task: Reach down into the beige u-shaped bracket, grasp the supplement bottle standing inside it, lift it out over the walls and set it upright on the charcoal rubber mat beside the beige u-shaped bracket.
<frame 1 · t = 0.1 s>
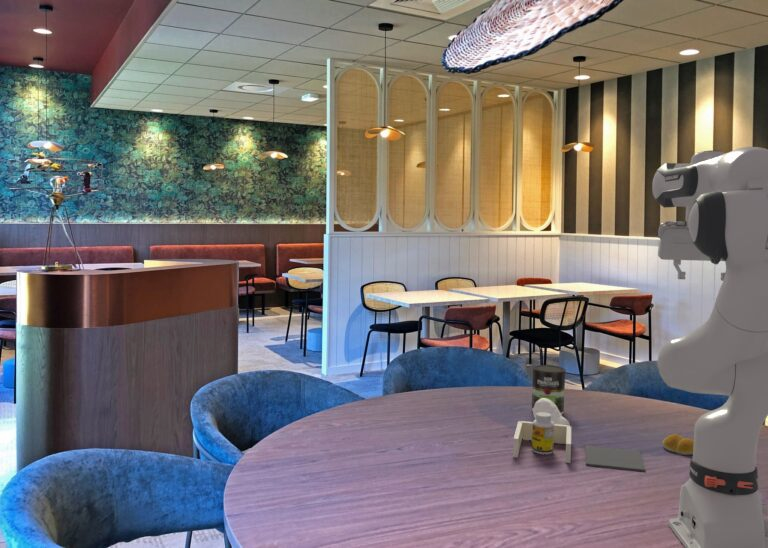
hand: (702, 279, 159), 48 cm above the table, tool pointing down, fingers open, 8 cm apart
bread roll: (680, 451, 181), on the table
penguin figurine: (552, 430, 197), on the table
beige u-shaped bracket: (542, 451, 179), on the table
supplement bottle: (542, 452, 179), on the table
coffee can: (547, 411, 216), on the table
mat: (613, 458, 174), on the table
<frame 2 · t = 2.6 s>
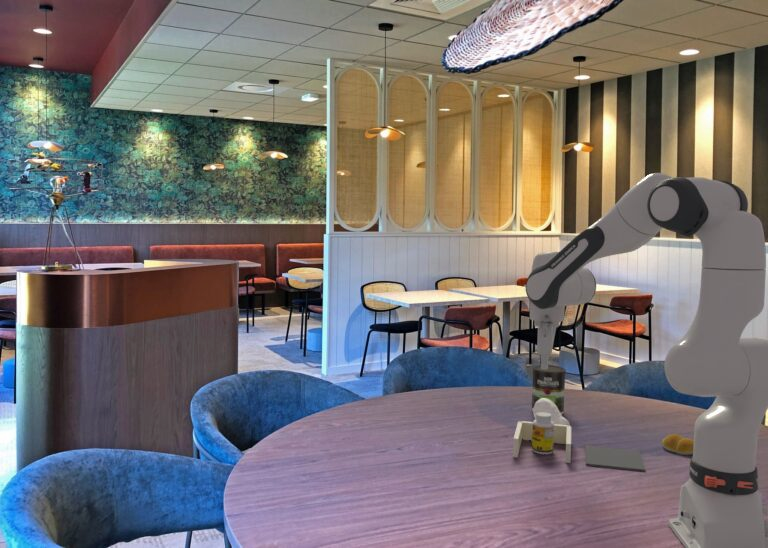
hand: (545, 365, 177), 23 cm above the table, tool pointing down, fingers open, 8 cm apart
nothing on the table moved.
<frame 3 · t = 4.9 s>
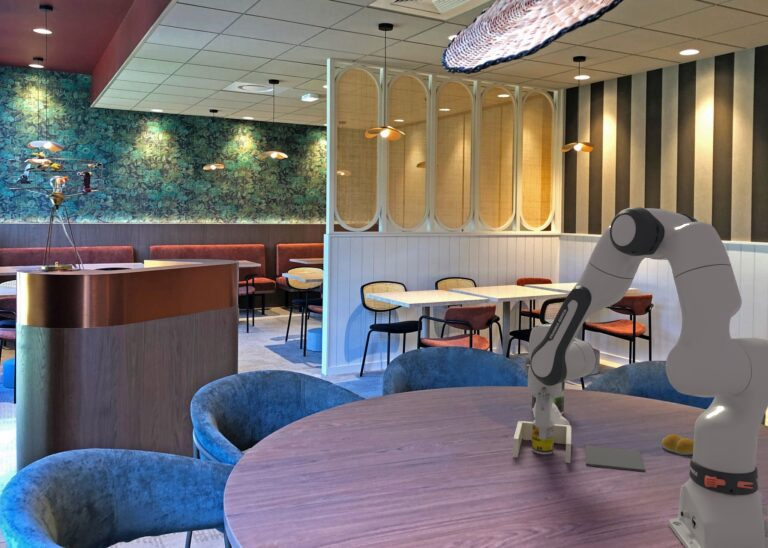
hand: (543, 434, 178), 5 cm above the table, tool pointing down, fingers closed on supplement bottle, 5 cm apart
supplement bottle: (542, 452, 179), on the table, touching gripper
everything else where it was.
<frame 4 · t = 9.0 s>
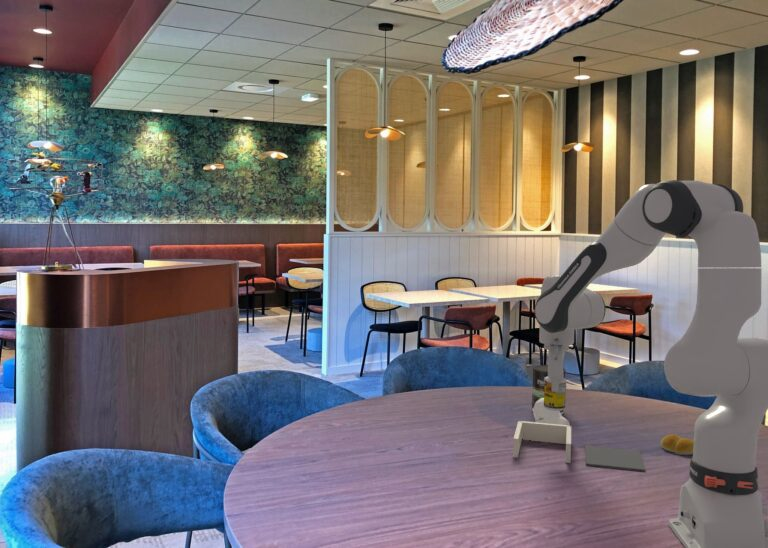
hand: (555, 388, 176), 18 cm above the table, tool pointing down, fingers closed on supplement bottle, 5 cm apart
supplement bottle: (554, 409, 176), point 12 cm above the table, touching gripper
everything else where it was.
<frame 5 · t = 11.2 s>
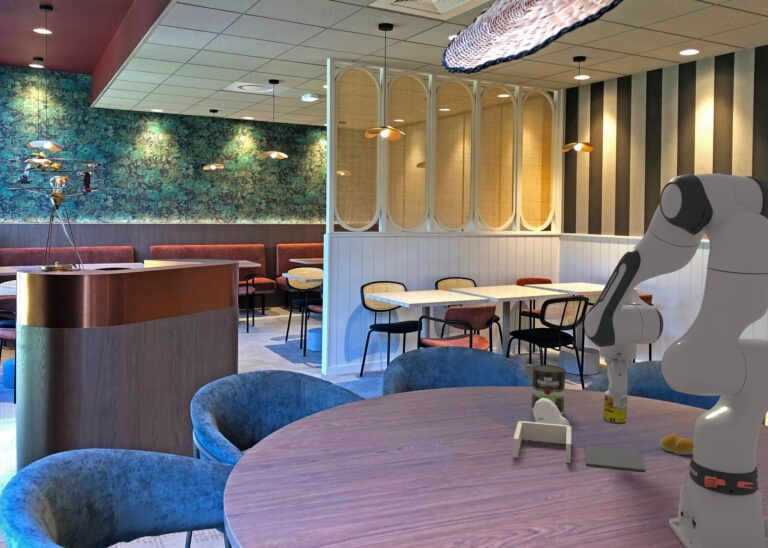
hand: (615, 402, 172), 15 cm above the table, tool pointing down, fingers closed on supplement bottle, 5 cm apart
supplement bottle: (614, 424, 173), point 9 cm above the table, touching gripper
everything else where it was.
when the fingers open (7 cm above the table, at t = 13.4 s): supplement bottle stays where it is, resting on mat.
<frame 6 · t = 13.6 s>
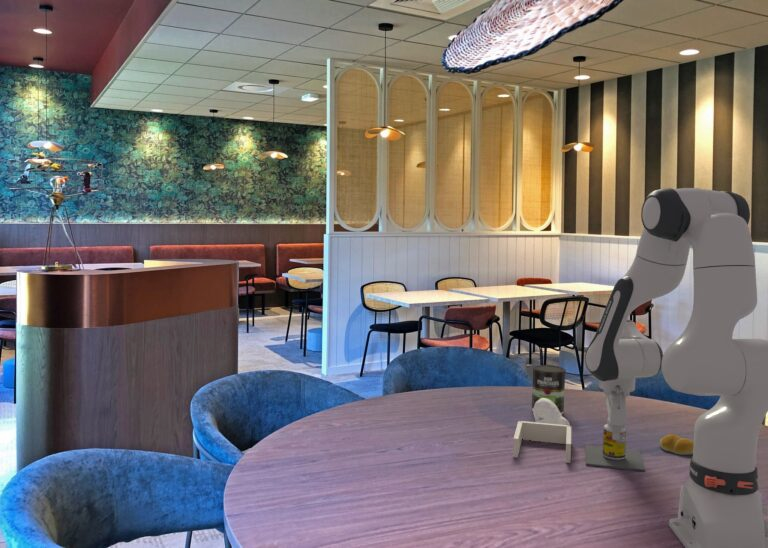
hand: (614, 434, 173), 7 cm above the table, tool pointing down, fingers open, 7 cm apart
supplement bottle: (613, 457, 173), resting on mat
everything else where it was.
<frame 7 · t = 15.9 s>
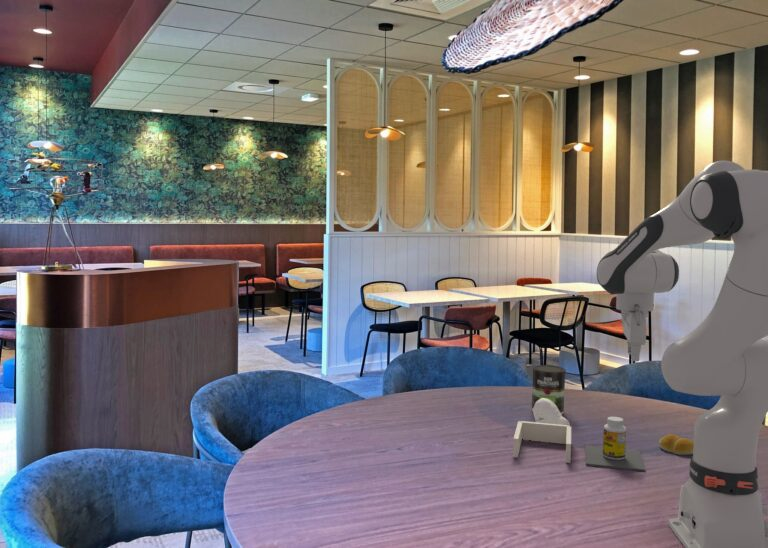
hand: (633, 357, 169), 27 cm above the table, tool pointing down, fingers open, 8 cm apart
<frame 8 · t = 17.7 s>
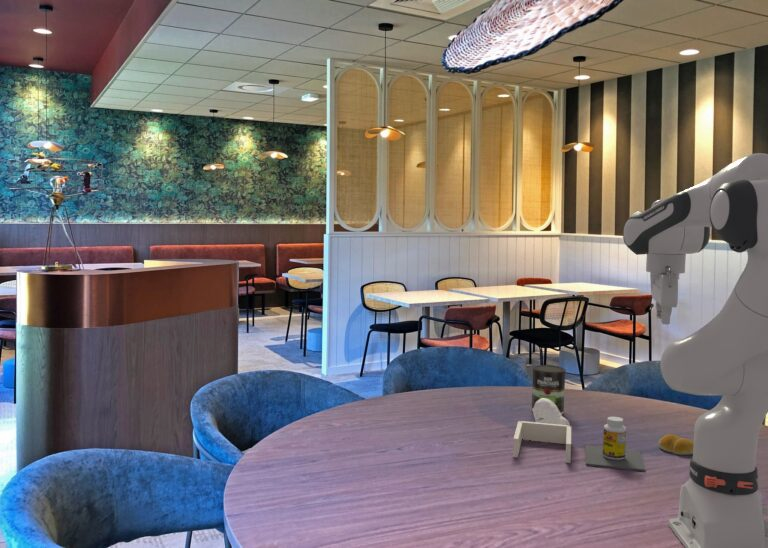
hand: (662, 321, 165), 37 cm above the table, tool pointing down, fingers open, 8 cm apart
at the end: supplement bottle inside the target area on the mat (0.2 cm from its centre), point 0.3 cm above the mat's base; supplement bottle tilted 0°; the gripper is holding nothing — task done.
